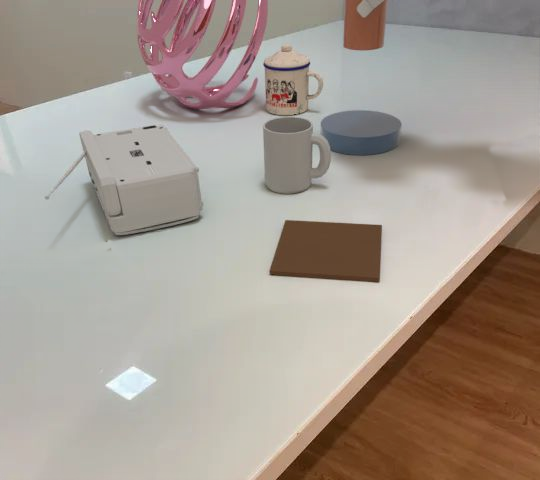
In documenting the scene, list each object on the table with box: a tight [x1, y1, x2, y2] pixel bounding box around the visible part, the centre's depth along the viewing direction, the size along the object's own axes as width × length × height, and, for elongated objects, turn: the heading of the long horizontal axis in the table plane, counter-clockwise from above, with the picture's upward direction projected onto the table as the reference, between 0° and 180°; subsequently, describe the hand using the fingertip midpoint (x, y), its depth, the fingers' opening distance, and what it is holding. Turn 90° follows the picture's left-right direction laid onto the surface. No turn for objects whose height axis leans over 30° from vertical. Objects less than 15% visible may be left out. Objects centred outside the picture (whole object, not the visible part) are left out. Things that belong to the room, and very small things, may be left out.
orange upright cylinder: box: [342, 0, 389, 52], centre depth 80 cm, size 6×6×9 cm
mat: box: [269, 219, 383, 283], centre depth 70 cm, size 13×13×1 cm
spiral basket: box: [136, 0, 269, 110], centre depth 110 cm, size 28×28×27 cm
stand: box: [319, 109, 403, 156], centre depth 98 cm, size 14×14×3 cm
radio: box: [44, 124, 204, 236], centre depth 80 cm, size 21×8×20 cm
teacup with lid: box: [262, 43, 324, 116], centre depth 109 cm, size 12×9×12 cm
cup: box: [262, 116, 332, 195], centre depth 83 cm, size 7×10×9 cm
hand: (361, 8), depth 80 cm, fingers closed on orange upright cylinder, 6 cm apart
